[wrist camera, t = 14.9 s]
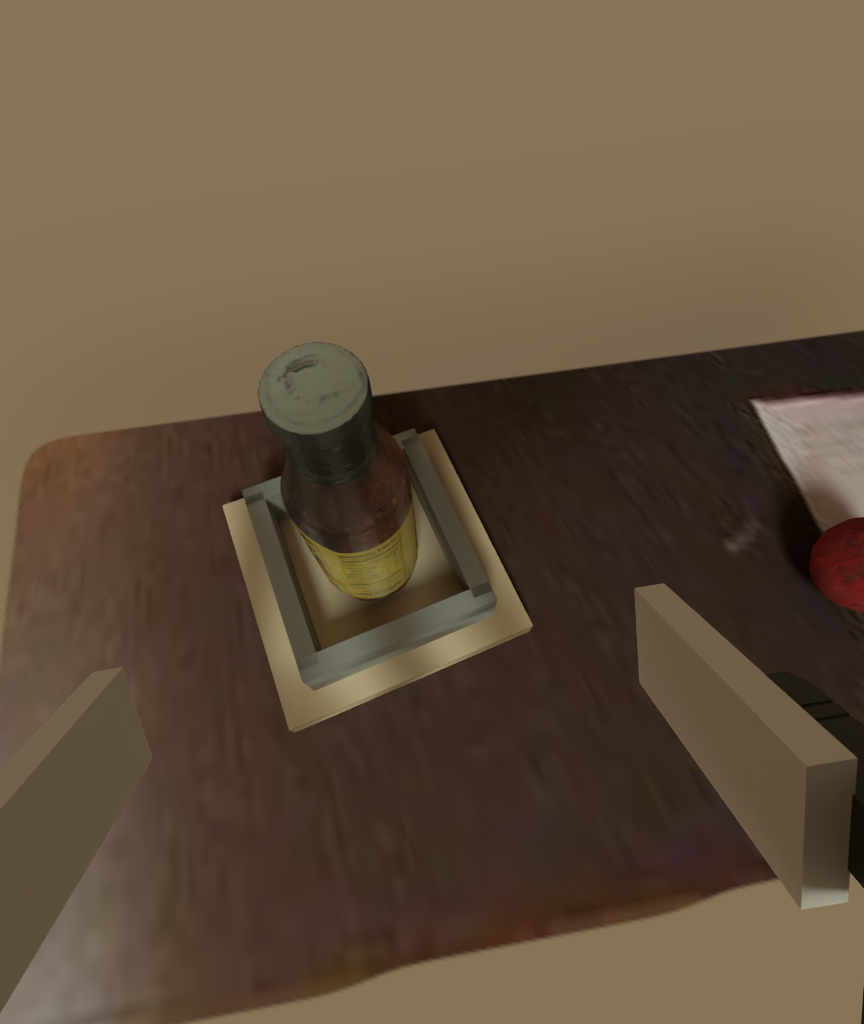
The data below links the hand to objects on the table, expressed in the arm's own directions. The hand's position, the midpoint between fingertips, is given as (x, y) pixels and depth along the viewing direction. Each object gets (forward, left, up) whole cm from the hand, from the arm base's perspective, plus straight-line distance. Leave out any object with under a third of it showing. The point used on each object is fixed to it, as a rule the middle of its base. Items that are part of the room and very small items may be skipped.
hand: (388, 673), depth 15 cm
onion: (-29, +2, -23) cm, 37 cm away
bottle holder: (-1, -11, -23) cm, 26 cm away
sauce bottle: (-1, -11, -22) cm, 24 cm away
